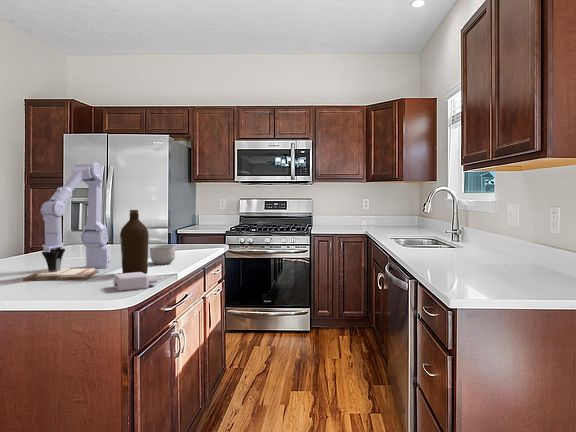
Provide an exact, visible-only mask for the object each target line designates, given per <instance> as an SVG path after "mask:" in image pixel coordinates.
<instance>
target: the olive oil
mask: <svg viewBox="0 0 576 432" xmlns="http://www.w3.org/2000/svg"><path fill="white" fill-rule="evenodd" d="M139 217H140V216H139V209H130V210H129V220H128V221H127V222H126V224H124V225H123V226H122V228H121V229H120V234H119V241H120V251H121V252H120V253H121V269H122V270H121V271H122V272H121V274H122V273H134V272H142V273H144V274H146V275H147V274H148V268H149V267H148V263H149V261H148V260H149V258H148V257H149V230H148V228H147V227H146V225H145V224H143V222H141V220H140V219H139Z"/></svg>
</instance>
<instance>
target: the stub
mask: <svg viewBox="0 0 576 432" xmlns="http://www.w3.org/2000/svg"><path fill="white" fill-rule="evenodd" d="M70 269H71V267H61V264H60V258H57V261H56V268H55V270H49V269H48V268H47V270H43V271H44V272H42V273H39V274H37V277H43V276H59V274H62V273H63V272H65V271H67V270H70Z"/></svg>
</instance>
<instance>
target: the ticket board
mask: <svg viewBox="0 0 576 432" xmlns="http://www.w3.org/2000/svg"><path fill="white" fill-rule="evenodd" d="M44 271H45V270H39V271H37V272H34V273H32V274H30V275H27V276H24V277H22V281H23V282H28V281H29V282H33V281H35V282H36V281H38V282H39V281H40V282H41V280H42V282H43V280H45V281H83V280H84V281H87V280H88V279H90V278H92V277H94V276H95V275H97V274H98V273H99V269H95V271H93V272H91V273H89V274H88V275H86V276H84V277H59V276H43V277H37V274H39V273H42V272H44Z"/></svg>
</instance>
